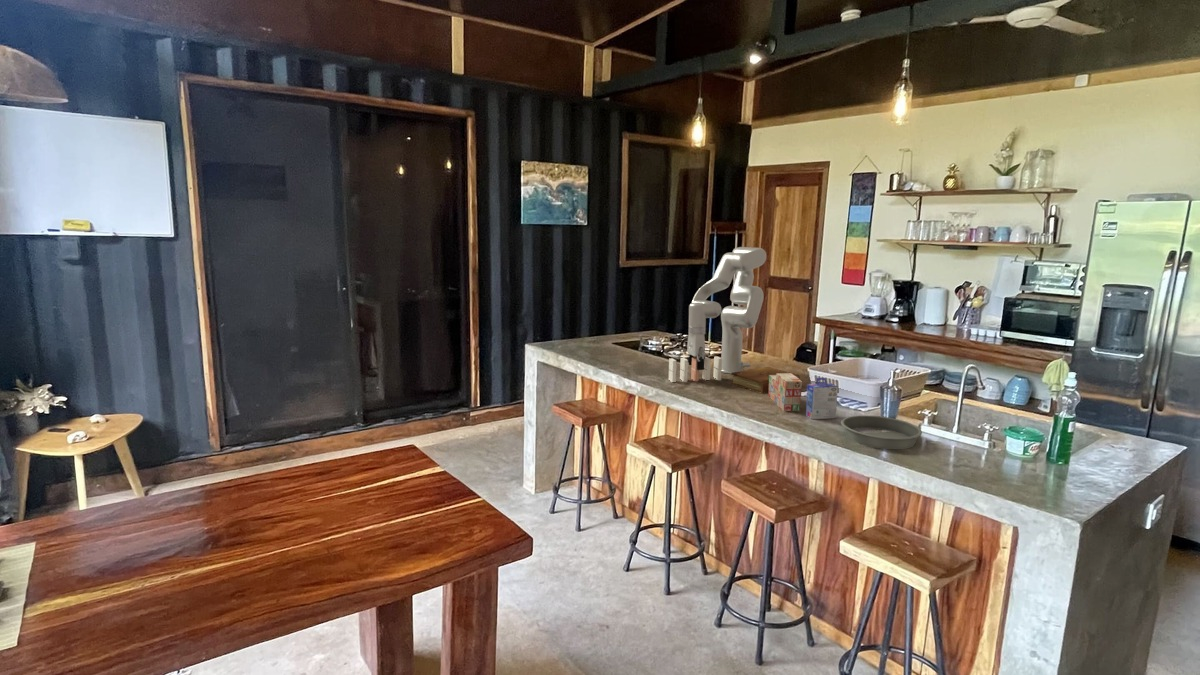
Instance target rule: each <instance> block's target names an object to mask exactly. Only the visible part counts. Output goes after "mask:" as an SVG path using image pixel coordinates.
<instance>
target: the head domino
mask: <svg viewBox="0 0 1200 675" xmlns="http://www.w3.org/2000/svg"><path fill="white" fill-rule="evenodd" d="M669 380H670V381H669ZM668 381H669V382H671V383H672V382H676V383H677V360H676V359H674V358H668Z"/></svg>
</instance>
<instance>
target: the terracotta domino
mask: <svg viewBox="0 0 1200 675" xmlns="http://www.w3.org/2000/svg"><path fill="white" fill-rule="evenodd" d="M697 361H698V359H697V357H696V358H695V357H693V358H692V365H691V369H690V370H691V372H690V374H691V375H690V376H691V377H690V379H691V380H692V379H693V380H692V381H694V382H699V381H700V370H697Z"/></svg>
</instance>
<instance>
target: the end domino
mask: <svg viewBox="0 0 1200 675" xmlns="http://www.w3.org/2000/svg"><path fill="white" fill-rule="evenodd" d="M713 357H714V358H713V377H714V378H713V379H715V378H716V379H715V380H717V381H722V373H723V372H722V358H721V356H713Z"/></svg>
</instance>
